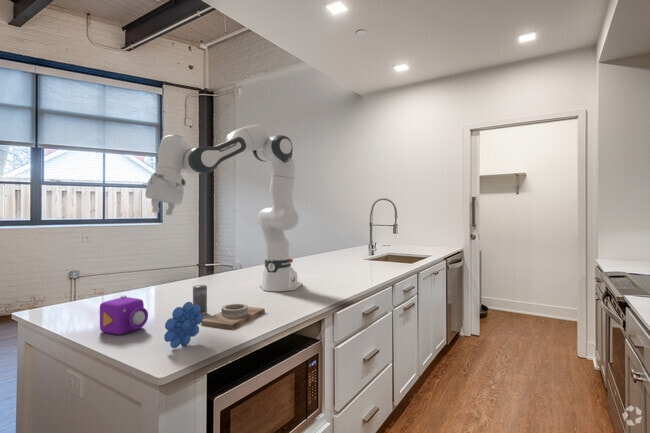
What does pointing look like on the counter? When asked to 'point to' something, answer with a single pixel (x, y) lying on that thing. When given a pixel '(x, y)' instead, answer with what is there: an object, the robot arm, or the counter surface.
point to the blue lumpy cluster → (183, 325)
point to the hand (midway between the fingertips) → (162, 213)
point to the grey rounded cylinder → (200, 298)
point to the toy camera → (122, 315)
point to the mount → (233, 316)
